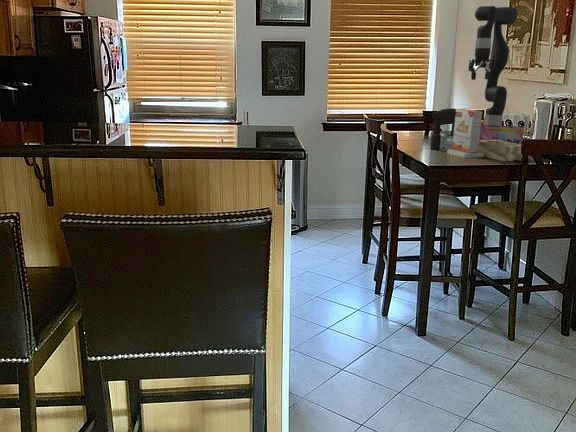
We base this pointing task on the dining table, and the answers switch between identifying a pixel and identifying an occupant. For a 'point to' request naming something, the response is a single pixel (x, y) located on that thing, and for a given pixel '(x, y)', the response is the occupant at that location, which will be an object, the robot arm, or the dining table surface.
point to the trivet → (464, 153)
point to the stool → (440, 119)
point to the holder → (500, 150)
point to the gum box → (502, 133)
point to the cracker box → (467, 130)
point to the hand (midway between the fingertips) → (480, 79)
